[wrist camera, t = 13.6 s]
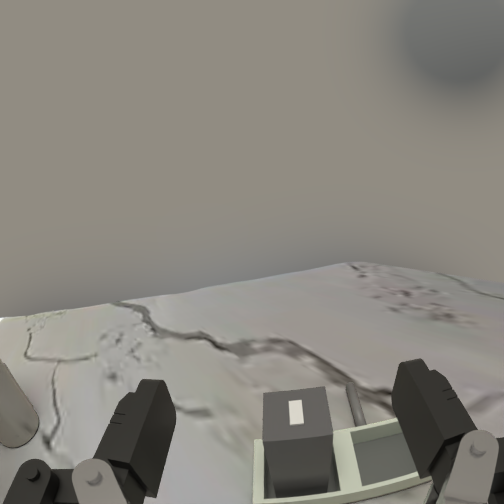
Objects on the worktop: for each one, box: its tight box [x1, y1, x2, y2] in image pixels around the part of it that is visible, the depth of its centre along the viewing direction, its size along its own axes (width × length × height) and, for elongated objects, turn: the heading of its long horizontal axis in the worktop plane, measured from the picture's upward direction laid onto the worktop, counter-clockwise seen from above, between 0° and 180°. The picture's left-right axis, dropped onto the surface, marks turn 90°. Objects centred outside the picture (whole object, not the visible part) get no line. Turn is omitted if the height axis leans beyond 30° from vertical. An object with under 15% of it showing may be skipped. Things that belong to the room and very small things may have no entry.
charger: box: [262, 386, 333, 498], centre depth 23 cm, size 5×5×12 cm
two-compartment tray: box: [253, 382, 432, 504], centre depth 29 cm, size 17×18×3 cm
